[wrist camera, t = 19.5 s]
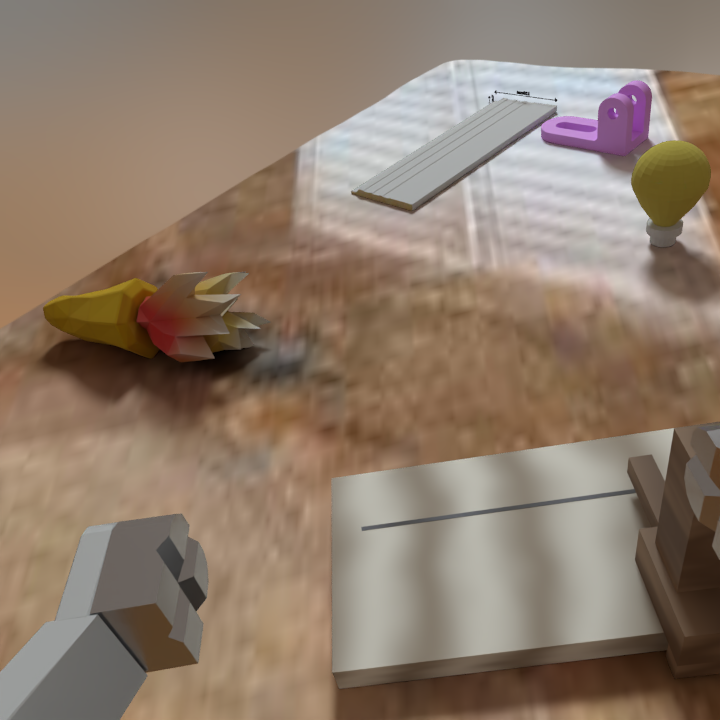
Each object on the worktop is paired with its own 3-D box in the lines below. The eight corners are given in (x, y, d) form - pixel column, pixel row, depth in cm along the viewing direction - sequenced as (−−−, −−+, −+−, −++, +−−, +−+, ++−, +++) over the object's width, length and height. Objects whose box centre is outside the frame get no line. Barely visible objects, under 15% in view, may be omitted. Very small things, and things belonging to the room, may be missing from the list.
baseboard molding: (344, 195, 88) (413, 216, 81) (340, 174, 87) (410, 194, 79) (487, 105, 103) (557, 116, 96) (486, 86, 101) (557, 95, 94)
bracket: (647, 138, 84) (653, 82, 80) (624, 157, 82) (628, 99, 77) (556, 124, 92) (557, 71, 88) (532, 140, 90) (532, 87, 86)
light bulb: (715, 237, 66) (732, 138, 59) (671, 267, 63) (685, 167, 57) (654, 216, 70) (664, 122, 64) (611, 244, 68) (618, 149, 62)
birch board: (339, 689, 39) (332, 672, 38) (337, 496, 50) (331, 478, 48) (772, 637, 37) (780, 618, 36) (672, 447, 48) (675, 427, 46)
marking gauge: (674, 678, 36) (713, 524, 27) (604, 499, 45) (616, 342, 36) (753, 669, 35) (817, 511, 27) (666, 491, 44) (693, 330, 36)
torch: (88, 356, 76) (277, 348, 66) (28, 372, 69) (230, 366, 59) (73, 283, 75) (265, 263, 64) (11, 292, 68) (215, 271, 57)
